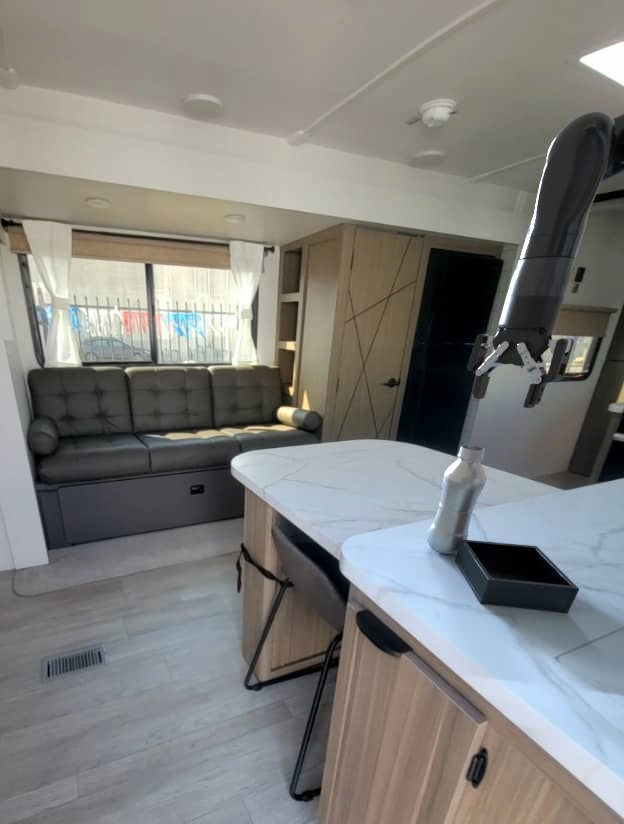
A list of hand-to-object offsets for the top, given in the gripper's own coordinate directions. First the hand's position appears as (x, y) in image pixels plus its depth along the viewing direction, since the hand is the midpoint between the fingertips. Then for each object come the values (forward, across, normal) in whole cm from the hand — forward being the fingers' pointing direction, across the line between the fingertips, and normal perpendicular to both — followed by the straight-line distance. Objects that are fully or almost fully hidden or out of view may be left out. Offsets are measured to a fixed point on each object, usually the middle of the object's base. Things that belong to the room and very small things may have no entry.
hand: (502, 402), depth 69 cm
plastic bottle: (+27, -1, +6) cm, 28 cm away
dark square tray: (+27, -13, +7) cm, 31 cm away
